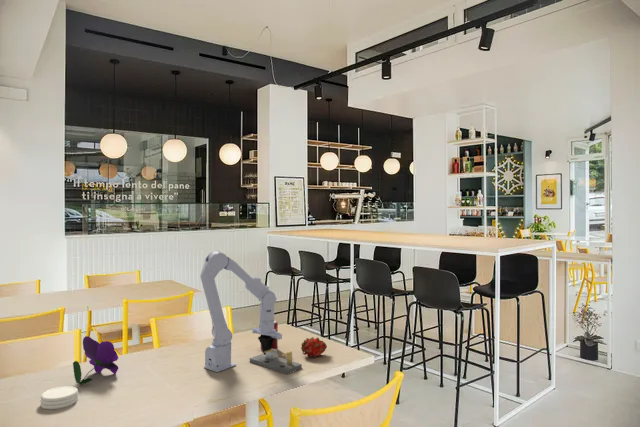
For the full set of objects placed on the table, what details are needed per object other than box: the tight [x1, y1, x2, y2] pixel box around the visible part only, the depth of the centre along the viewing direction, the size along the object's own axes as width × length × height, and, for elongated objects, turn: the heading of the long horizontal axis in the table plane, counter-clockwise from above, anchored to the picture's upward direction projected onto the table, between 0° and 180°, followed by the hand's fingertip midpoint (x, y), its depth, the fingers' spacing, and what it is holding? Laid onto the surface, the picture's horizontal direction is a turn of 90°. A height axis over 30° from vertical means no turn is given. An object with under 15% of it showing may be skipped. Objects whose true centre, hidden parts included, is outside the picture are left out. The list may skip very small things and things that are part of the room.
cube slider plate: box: [249, 350, 303, 375], centre depth 171 cm, size 8×20×6 cm, turn 52°
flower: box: [72, 336, 119, 385], centre depth 154 cm, size 15×15×14 cm
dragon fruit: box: [300, 336, 328, 358], centre depth 182 cm, size 8×8×12 cm
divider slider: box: [264, 348, 279, 360], centre depth 173 cm, size 6×3×4 cm, turn 142°
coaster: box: [40, 385, 79, 411], centre depth 136 cm, size 10×10×4 cm
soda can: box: [260, 319, 279, 352], centre depth 189 cm, size 7×7×12 cm
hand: (266, 354), depth 176 cm, fingers closed
